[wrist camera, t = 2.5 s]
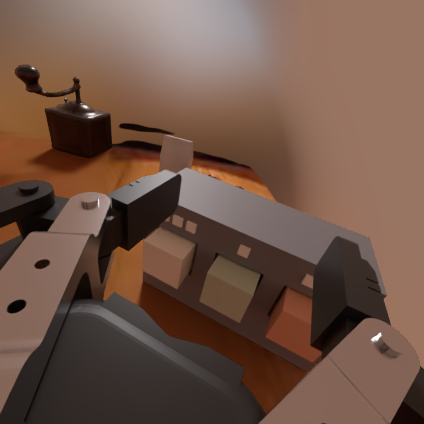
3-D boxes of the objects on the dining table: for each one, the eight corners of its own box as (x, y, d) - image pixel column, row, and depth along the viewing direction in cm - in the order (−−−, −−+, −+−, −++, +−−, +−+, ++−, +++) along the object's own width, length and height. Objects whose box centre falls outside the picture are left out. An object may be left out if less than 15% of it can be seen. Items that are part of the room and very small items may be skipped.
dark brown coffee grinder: (77, 137, 64) (67, 64, 54) (113, 147, 64) (109, 75, 54) (30, 153, 51) (6, 61, 41) (75, 166, 51) (60, 75, 41)
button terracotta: (265, 336, 21) (282, 310, 18) (273, 300, 24) (289, 273, 22) (312, 362, 20) (337, 338, 17) (314, 320, 23) (335, 294, 21)
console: (141, 282, 29) (144, 191, 22) (174, 246, 36) (186, 167, 28) (306, 374, 24) (387, 298, 16) (309, 312, 31) (369, 237, 23)
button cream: (142, 270, 24) (143, 240, 22) (166, 246, 28) (169, 218, 25) (177, 289, 23) (182, 260, 21) (197, 261, 27) (203, 234, 24)
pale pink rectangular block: (185, 184, 54) (190, 144, 48) (158, 177, 54) (161, 136, 49) (189, 178, 57) (195, 140, 51) (164, 171, 57) (167, 132, 52)
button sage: (199, 301, 22) (207, 272, 20) (216, 271, 26) (225, 244, 23) (239, 322, 21) (253, 295, 19) (251, 289, 25) (264, 262, 22)
